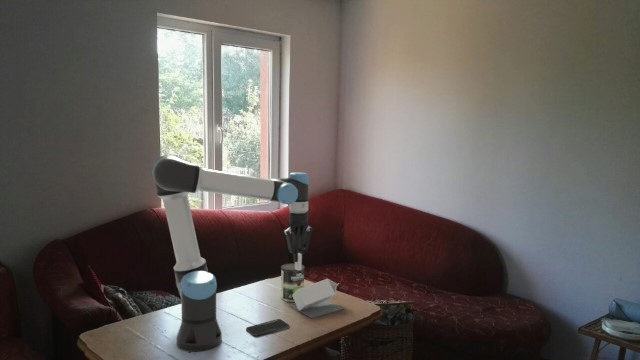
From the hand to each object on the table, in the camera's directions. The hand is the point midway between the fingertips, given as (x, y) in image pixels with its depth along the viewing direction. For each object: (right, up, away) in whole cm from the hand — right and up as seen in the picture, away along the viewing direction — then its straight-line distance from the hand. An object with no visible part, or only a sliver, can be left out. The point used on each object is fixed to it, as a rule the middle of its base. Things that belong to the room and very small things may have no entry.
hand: (298, 269), depth 190 cm
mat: (+7, -17, +7) cm, 20 cm away
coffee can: (-3, -16, +18) cm, 25 cm away
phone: (-11, -20, -14) cm, 27 cm away
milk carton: (0, -13, +1) cm, 13 cm away
